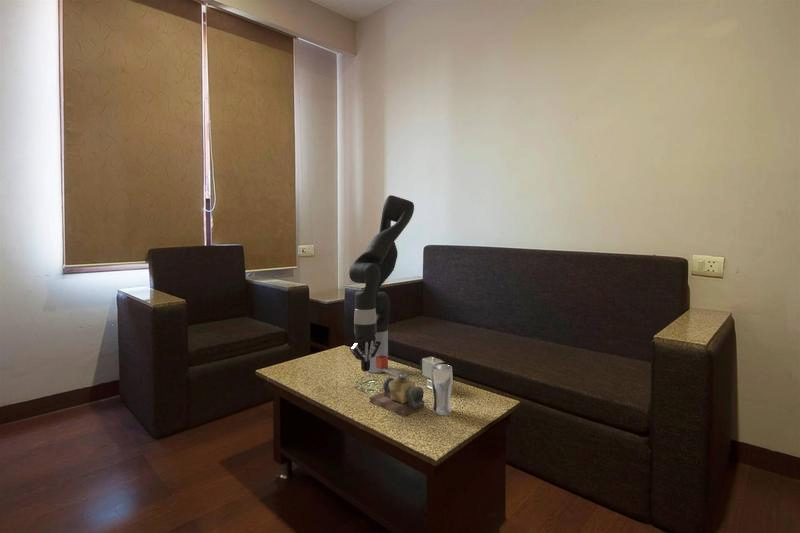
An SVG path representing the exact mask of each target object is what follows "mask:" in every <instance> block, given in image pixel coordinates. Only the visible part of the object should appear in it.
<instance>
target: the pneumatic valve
mask: <svg viewBox="0 0 800 533" xmlns="http://www.w3.org/2000/svg"><path fill="white" fill-rule="evenodd" d="M437 364H446V365H447V362H446V361H443V360H442V359H440V358H436V357H434V356H426V357H422V358H420V362H419V368H420V374H421V375H422V376H425V377H427V378H428V379H426V384H427V385H426V388H427V389H429V390H432V384H431V374H432V366H433V365H437Z"/></svg>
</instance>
